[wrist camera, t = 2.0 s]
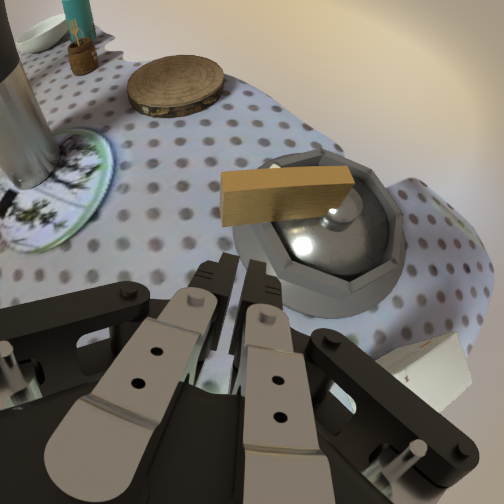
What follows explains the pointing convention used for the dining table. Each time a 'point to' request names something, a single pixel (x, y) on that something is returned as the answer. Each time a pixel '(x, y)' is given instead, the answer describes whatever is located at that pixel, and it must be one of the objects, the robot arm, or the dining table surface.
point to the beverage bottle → (79, 18)
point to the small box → (430, 369)
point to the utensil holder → (82, 53)
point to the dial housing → (316, 282)
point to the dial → (310, 214)
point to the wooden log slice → (175, 86)
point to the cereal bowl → (43, 35)
